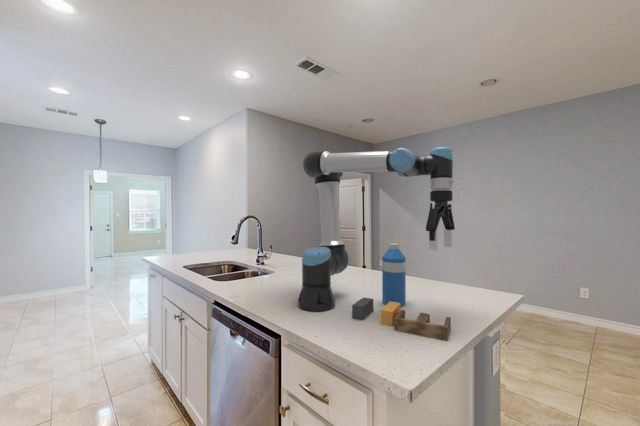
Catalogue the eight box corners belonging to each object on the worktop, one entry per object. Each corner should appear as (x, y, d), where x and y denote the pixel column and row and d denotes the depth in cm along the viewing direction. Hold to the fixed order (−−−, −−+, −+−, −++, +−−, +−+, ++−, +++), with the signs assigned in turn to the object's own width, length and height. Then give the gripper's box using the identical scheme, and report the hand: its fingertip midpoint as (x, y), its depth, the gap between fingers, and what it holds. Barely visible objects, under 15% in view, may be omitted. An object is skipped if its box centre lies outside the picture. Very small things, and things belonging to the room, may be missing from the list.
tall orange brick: (380, 324, 98) (380, 309, 98) (389, 314, 107) (389, 301, 108) (392, 326, 96) (392, 311, 96) (400, 316, 106) (400, 303, 106)
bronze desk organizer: (394, 330, 93) (394, 318, 93) (401, 320, 101) (401, 309, 101) (447, 340, 85) (447, 328, 85) (450, 329, 94) (450, 317, 94)
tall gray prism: (352, 318, 103) (352, 305, 103) (363, 310, 113) (363, 297, 113) (362, 321, 101) (362, 306, 101) (373, 311, 111) (373, 298, 111)
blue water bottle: (406, 308, 114) (406, 245, 114) (382, 306, 116) (382, 245, 116) (404, 301, 123) (404, 243, 124) (382, 299, 125) (382, 242, 125)
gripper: (437, 187, 93) (437, 252, 93) (463, 191, 111) (463, 246, 111) (415, 188, 99) (415, 250, 99) (444, 192, 117) (443, 244, 117)
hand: (440, 248), depth 105 cm, fingers open, 13 cm apart
